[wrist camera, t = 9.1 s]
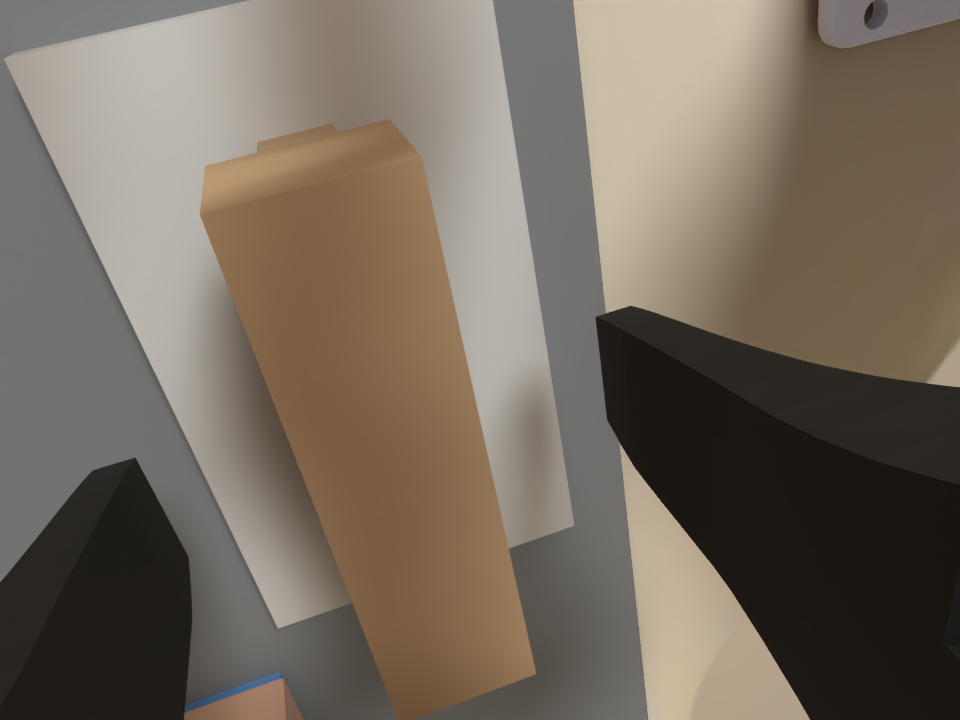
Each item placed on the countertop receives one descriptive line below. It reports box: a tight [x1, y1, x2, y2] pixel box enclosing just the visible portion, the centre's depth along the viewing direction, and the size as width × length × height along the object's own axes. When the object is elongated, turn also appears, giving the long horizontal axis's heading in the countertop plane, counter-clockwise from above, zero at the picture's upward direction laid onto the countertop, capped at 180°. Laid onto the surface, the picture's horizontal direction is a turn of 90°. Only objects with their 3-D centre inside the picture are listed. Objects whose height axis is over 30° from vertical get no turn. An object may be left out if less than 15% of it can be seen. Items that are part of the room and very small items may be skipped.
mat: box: [0, 0, 648, 720], centre depth 16 cm, size 21×26×1 cm
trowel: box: [4, 0, 574, 720], centre depth 13 cm, size 7×12×5 cm, turn 11°
